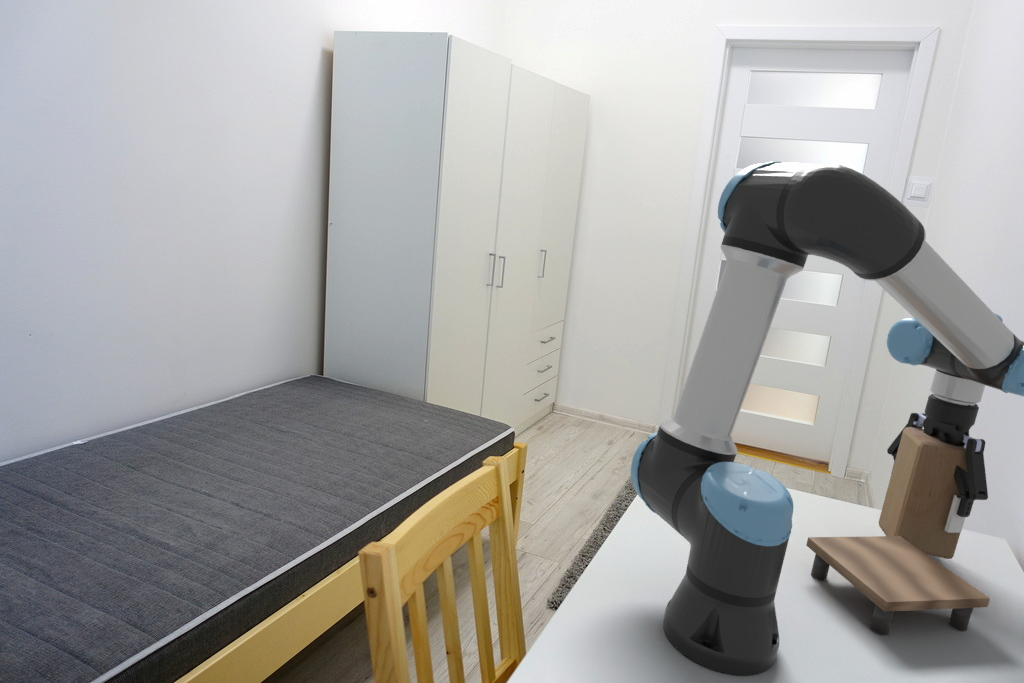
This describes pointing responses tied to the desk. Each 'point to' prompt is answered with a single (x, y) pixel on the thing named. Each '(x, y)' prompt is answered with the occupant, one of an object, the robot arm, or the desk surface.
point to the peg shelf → (896, 578)
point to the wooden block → (923, 493)
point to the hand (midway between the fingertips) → (922, 513)
